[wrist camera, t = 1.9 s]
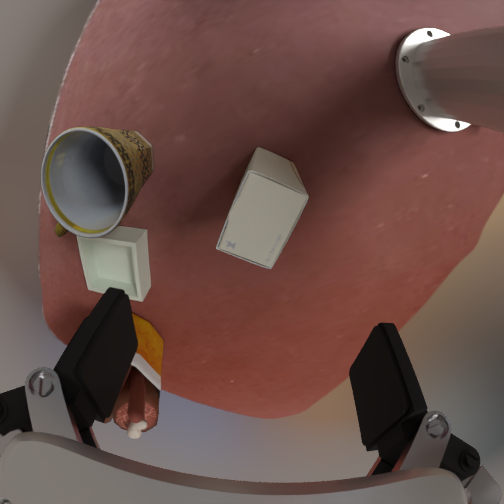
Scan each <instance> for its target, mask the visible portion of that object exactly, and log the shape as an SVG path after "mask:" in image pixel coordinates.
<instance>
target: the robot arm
mask: <svg viewBox="0 0 504 504" xmlns="http://www.w3.org/2000/svg"><path fill="white" fill-rule="evenodd" d="M402 59H403V60H404V62H403V60H402ZM395 65H396V75H397V81H398V84H399V87H400V90H401V92H402V94H403V96H404V98H405V100H406V102H407V103H408V105H409V106H410V108H411V109H412V111H413V112H414V113H415V114H416V115H417V116H418V117H419V118H420V119H421V120H422V121H424V122H425V123H426V124H428V125H430V126H432V127H433V128H436V129H439V130H443V131H447V132H457V131H460V130H463V129H465V128H467V127H468V126H470V125H471V124H473V125H477V126H481V127H485V128H488V129H492V130H495V131H498V132H502V133H504V26H499V27H491V28H484V29H478V30H472V31H467V32H462V33H457V34H452V35H450V34H448V33H446V32H444V31H442V30H439V29H435V28H422V29H417V30H415V31H413V32H411V33H409V34H408V35H407V36H405V37H404V39H403V40H402V41H401V43H400V45H399V47H398V50H397V54H396V60H395ZM418 106H419V109H418ZM137 348H138V339H137V335H136V330H135V326H134V321H133V316H132V311H131V305H130V300H129V296H128V294H125V291H124V290H123V289H118V288H113V287H109V288H108V289H107V290H106V292H105V293H104V294H103V296H102V297H101V299H100V300H99V302H98V303H97V305H96V306H95V308H94V309H93V311H92V312H91V314H90V315H89V316H88V317H86V318H85V319H84V321H83V322H82V324H81V325H80V327H79V328H78V330H77V331H76V333H75V334H74V336H73V338H72V339H71V341H70V343H69V344H68V346H67V347H66V349H65V351H64V352H63V354H62V356H61V357H60V359H59V361H58V363H57V364H56V366H55V368H54V370H52V369H51V368H48V367H39V368H36V369H34V370H33V371H32V372H30V373H29V375H28V376H27V378H26V382H25V386H22V387H19V388H16V389H13V390H10V391H7V392H4V393H1V394H0V504H499V502H500V500H501V496H502V490H501V488H500V486H499V485H498V484H497V482H496V481H495V480H494V479H493V478H492V476H491V475H490V474H489V473H488V471H487V470H486V469H485V468H484V466H483V465H482V466H480V456H479V453H478V452H477V450H476V449H474V448H473V447H472V446H470V445H469V444H467V443H465V442H463V441H462V440H461V439H459V438H457V437H456V436H454V435H453V434H451V430H452V429H451V423H450V420H449V419H448V417H447V416H446V415H445V414H444V413H442V412H440V411H431V412H427V405H426V402H425V399H424V396H423V394H422V391H421V388H420V386H419V383H418V380H417V377H416V375H415V372H414V370H413V367H412V364H411V362H410V359H409V357H408V355H407V352H406V349H405V347H404V345H403V342H402V340H401V338H400V335H399V333H398V331H397V328H396V326H395V325H394V324H393V323H379V324H378V325H377V326H375V327H374V328H373V330H372V332H371V333H370V335H369V337H368V339H367V341H366V342H365V344H364V346H363V348H362V349H361V351H360V353H359V354H358V356H357V358H356V359H355V361H354V363H353V364H352V366H351V368H350V372H349V376H350V381H351V386H352V390H353V395H354V400H355V405H356V411H357V416H358V421H359V427H360V432H361V438H362V443H363V445H364V446H366V450H367V451H373V450H378V452H379V457H378V459H377V460H376V462H375V463H374V465H373V467H372V468H371V470H370V471H369V473H368V474H367V476H366V477H358V478H351V479H343V480H334V481H321V482H306V483H305V482H304V483H267V482H248V481H235V480H226V479H218V478H210V477H204V476H197V475H192V474H186V473H181V472H176V471H172V470H167V469H163V468H159V467H155V466H151V465H147V464H143V463H140V462H137V461H133V460H130V459H126V458H123V457H120V456H117V455H114V454H111V453H108V452H105V451H103V450H101V449H100V447H99V445H98V442H97V440H96V437H95V435H94V433H93V430H92V425H93V422H94V420H97V421H99V422H102V423H104V421H105V419H106V418H109V417H110V416H111V413H112V411H113V408H114V405H115V403H116V400H117V398H118V395H119V392H120V390H121V387H122V385H123V382H124V380H125V377H126V375H127V373H128V370H129V368H130V365H131V363H132V361H133V358H134V356H135V353H136V351H137Z"/></svg>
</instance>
